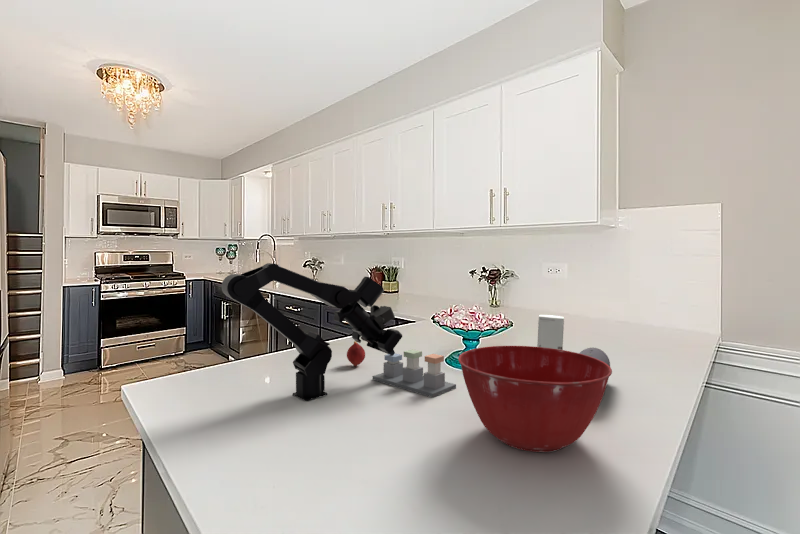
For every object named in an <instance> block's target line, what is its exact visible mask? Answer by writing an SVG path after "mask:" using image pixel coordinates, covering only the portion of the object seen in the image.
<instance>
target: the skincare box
mask: <svg viewBox="0 0 800 534" xmlns="http://www.w3.org/2000/svg"><path fill="white" fill-rule="evenodd" d="M537 322H538V323H537V345H536V347H544V348H552V349H559V350H563V347H564V345H563V344H564V330H565V327H564V325H565V317H564V315H563V316H562V315H552V314H539V315H538V320H537Z"/></svg>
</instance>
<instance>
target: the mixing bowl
mask: <svg viewBox="0 0 800 534" xmlns="http://www.w3.org/2000/svg"><path fill="white" fill-rule="evenodd" d="M579 353H580V352H574V351H571V350H570V351H569V350H566V349H565V350H559V349H552V348H544V347H537V346H533V345H532V346H530V345H493V346H483V347H478V348H477V347H476V348H473V349H469V350H467V351H463V352H462V353H460V354H459V356H458V357H457V359H458V362H459V364H460V366H461V367H460V368H461V372H462V375H463V376H462V377H463V379H464V382H465V383H464V384H465V385H466V386H465V387H466V389H467V393H468V396H469V398H470V401H471V403H472V405H473V407H474V409H475V412H476V413H477V416H478V418H479V419H480V422H481V423H482V425H483V426H484V428H485V429H486V430H487V431H488V432H489V433H490V434H491V435H492V436H493V437H495V438H497V439H498V441H500V442H501V443H503V444H505V445H506V446H509V447H512V448H514V449H518V450H522V451H527V452H535V453H550V452H555V451H559V450H562V449H563V448H565V447H568V446H570V445H571V444H572V445H573V443H575V442H576V441H578V440H579V439H580V438H581V437H582V436H583V434H584V433H585V431H586V430H587V428H588V427H589V425H590V424H591V423H592V421H593V418H594V417H595V416H596V413H597V411H598V409H599V407H600V404H601V402H602V400H603V398H604V394H605V391H606V388H607V385H608V382H609V377H610V376H611V375H612V374H613V370H612V367H611V365H610V366H609V365H607V364H606V363H604V362H603V361H600V360H598V359H596V358H593V357H590V356H587V355H583V354H579Z"/></svg>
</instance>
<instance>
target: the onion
mask: <svg viewBox="0 0 800 534" xmlns="http://www.w3.org/2000/svg"><path fill="white" fill-rule="evenodd" d="M346 358H347V360H348V362H349V363H350V364H352V365H353V367H357V366H359V365H360V364H362V363H363V362H364V360H365V358H366V352H365V349H364V347H363V346H362V345H361V344H360V343H359V342H356V341H355V340H354V341H353V344H352V345H351V346H350V347H349V348H348V349H347V351H346Z"/></svg>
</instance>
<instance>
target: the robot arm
mask: <svg viewBox="0 0 800 534" xmlns="http://www.w3.org/2000/svg"><path fill="white" fill-rule="evenodd" d="M272 282H275V283H279V284H282V285H285V286H287V287H290V288H293V289H294V290H298V291H301V292H303V293H306V294H309V295H311V296H312V297H314V298H316V299H317V300H318V301H320V302H321V303H323V304H325V305H327V306H328V307H333V308H336V309H339V310H335V311H334V316H333V321H334V322H338V323H342V322H343V321H345V322H347V324H348V325H349V326H351V330H352V332H351V339H352V340H354V341H356V342H357V343H358V344H361V342H362V341H363V342H367V343H366V346H367V347H369V348H371V349H374V350H376V351H379V352H382V353H385V354H386V355H387V354H390V355H392V356H393V355H394V354H395V353H396V352H395V350H394V349H395V348H396V346H397V345H398V344H399V342H400V341H401V339H402V338H403V334H402V332H400V331H399V330H397V329H394V328H387V329H385V328H386V325H385V324H387V323H388V322H389V321H391V320H394V319H395V317H396V316H395V313H394V312H393V309H392V307H391V306H386V305H383V306H382V305H381V306H378V305H376V304H375V303H376V302H377V301H378V300H379V298H380V297H381V296H382V294H383V293H384V291H385V289H384V287H383V286H382V285H381V284H380V283H378V282H377V281H375V280H373V279H372V278H370V276H363V278H362V279H361V281H360V282H359V284H358V285H357V286H356V287H355V289H349V288H348V287H346V286H343V285H338V284H333V283H332V284H331V283H327V282H323V281H322V282H321V281H318V280H316V279H314V278H310V277H307V276H305V275H303V274H300V273H298V272H295V271H293V270H289V269H287V268H284V267H282V266H280V265H279V264H277V263H272V262H270V263H269V262H267V263H265V264H263V265H262V266H258V267H257V268H254V269H251V270H248V271H246V272H242V273H241V274H238V273H232V274H228V275H227V276H226V277H224V279H223V281H222V282H221V292H222V293H223V294H224V295H225V296H226V297H228V298H229V299H232V300H233V301H234V302H236V303H239V304H240V305H242V306H244V307H246V308H247V309H250V310H251V311H253V312H254V313H255V314H256V315H258V316H259V318H261V319H262V320H264V321H265V322H266V323H267V324H268V325H269V326H271V327H272V328H273V329H275V331H277V332H278V333H279V334H281V335H282V336H283V337H284V338H286V339H287V340H288V341H289V342H290V343H291V344H292V345H293V346H294V348H295V349H296V351H297V352H298V353H299V354H298V355H297V356H296V358H294V359H293V362H292V363H293V367H294V369H295V370H297V371H296V372H295V392H292V396H293V397H296V398H298V399H300V400H302V401H306V402H309V401H312V400H315V399H318V398H322V397H324V396H327V395H328V392H327V391H325V387H326V386H325V383H326V381H325V374H326V370H327V368H328V365H329V364H330V362H331V360H332V356H333V350H332V348H331V347H330V345H331V343H329V342H327V341H325V340H324V339H323V338H322V337H321V335H320V334H318V333H316V332H313V331H311V330H309V331H308V333H306V332H304V331H303V330H302V329H301V328H300V327H299V326H298V325H296V324H295V323H294V322H293V321H292V320H290V319H289V318H288V317H287V316H286V315H285V314H283V313H282V312H281V311H280V310H279V309H277V308H276V307H275V306H274V305H273V304H271V303H270V302H269V300H267V299H266V298H265V296H264V294H263V293H262V291H260V289H262V288H263V287H265V286H267V285H268V284H270V283H272ZM367 307H369V308H370V314H369V312H367V310H366V309H364V308H367Z"/></svg>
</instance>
